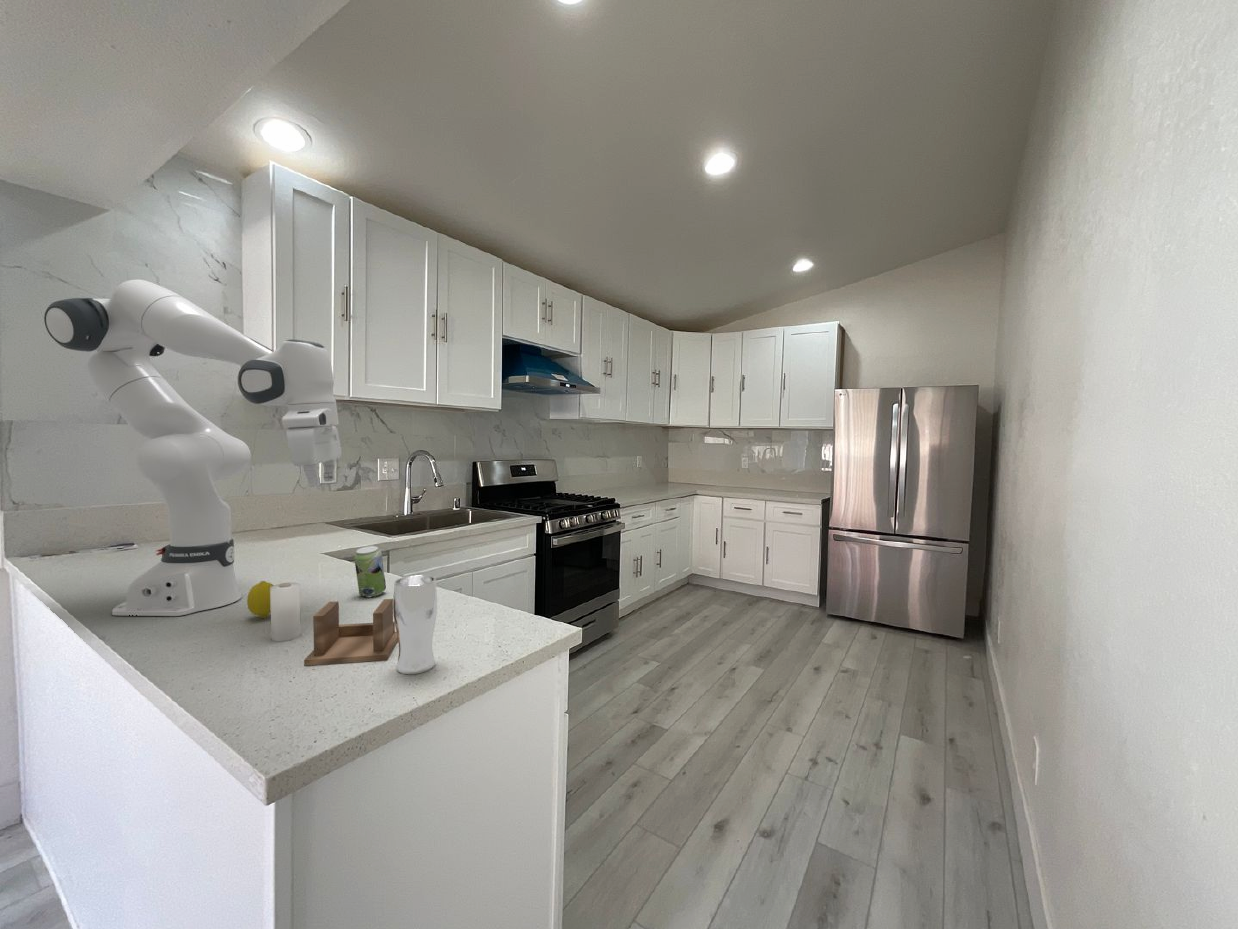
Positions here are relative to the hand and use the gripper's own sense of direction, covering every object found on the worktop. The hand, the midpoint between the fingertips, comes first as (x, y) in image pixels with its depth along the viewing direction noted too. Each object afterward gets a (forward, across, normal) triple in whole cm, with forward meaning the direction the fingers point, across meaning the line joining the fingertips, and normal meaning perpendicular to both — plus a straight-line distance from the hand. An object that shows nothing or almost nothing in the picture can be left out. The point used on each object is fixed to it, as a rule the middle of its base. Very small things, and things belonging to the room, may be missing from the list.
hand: (322, 483), depth 109 cm
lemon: (+28, -1, -15) cm, 32 cm away
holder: (+29, +20, +8) cm, 37 cm away
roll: (+28, +11, -6) cm, 31 cm away
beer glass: (+30, +30, +20) cm, 47 cm away
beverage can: (+30, -14, +3) cm, 33 cm away
